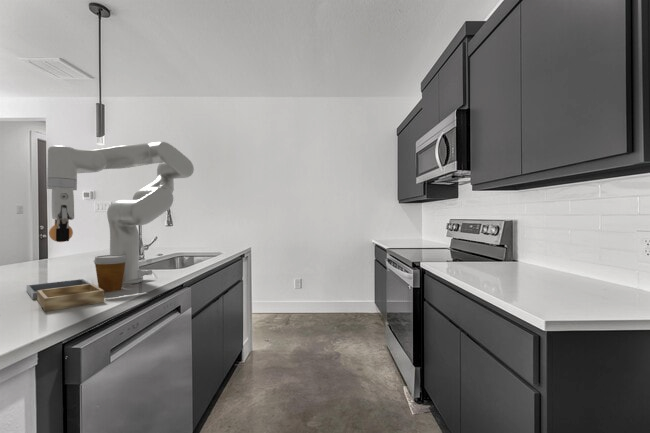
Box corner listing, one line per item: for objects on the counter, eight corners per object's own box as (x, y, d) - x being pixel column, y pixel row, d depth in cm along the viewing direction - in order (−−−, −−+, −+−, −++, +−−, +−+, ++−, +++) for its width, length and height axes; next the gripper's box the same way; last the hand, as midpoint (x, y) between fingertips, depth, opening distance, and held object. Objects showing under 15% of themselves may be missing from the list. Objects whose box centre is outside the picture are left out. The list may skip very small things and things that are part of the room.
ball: (71, 241, 110) (71, 223, 110) (74, 242, 106) (74, 223, 106) (48, 241, 106) (48, 223, 106) (49, 243, 101) (50, 223, 101)
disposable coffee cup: (133, 289, 114) (133, 255, 114) (107, 296, 105) (107, 258, 105) (112, 287, 117) (113, 253, 117) (86, 293, 108) (86, 257, 108)
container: (82, 285, 119) (82, 279, 119) (93, 292, 109) (93, 285, 109) (26, 293, 108) (26, 285, 108) (32, 301, 97) (32, 293, 97)
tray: (92, 294, 107) (92, 283, 107) (103, 302, 98) (104, 290, 98) (37, 302, 97) (37, 290, 97) (44, 311, 88) (44, 298, 88)
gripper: (81, 184, 102) (80, 241, 102) (72, 187, 114) (71, 238, 114) (49, 182, 97) (48, 242, 97) (44, 185, 109) (43, 239, 109)
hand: (61, 240), depth 106 cm, fingers closed on ball, 6 cm apart
